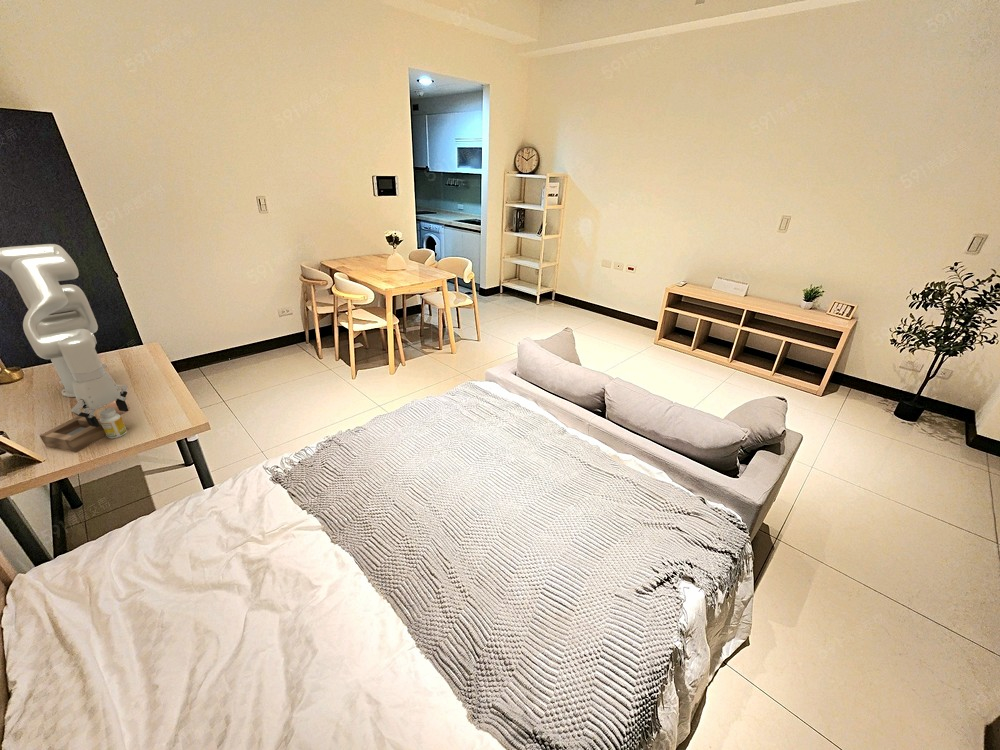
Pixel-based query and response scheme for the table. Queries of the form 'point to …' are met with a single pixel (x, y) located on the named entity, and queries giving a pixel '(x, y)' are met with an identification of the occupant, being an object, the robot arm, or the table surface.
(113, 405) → the peach rounded lump
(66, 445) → the base block
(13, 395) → the table surface
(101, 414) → the supplement bottle
